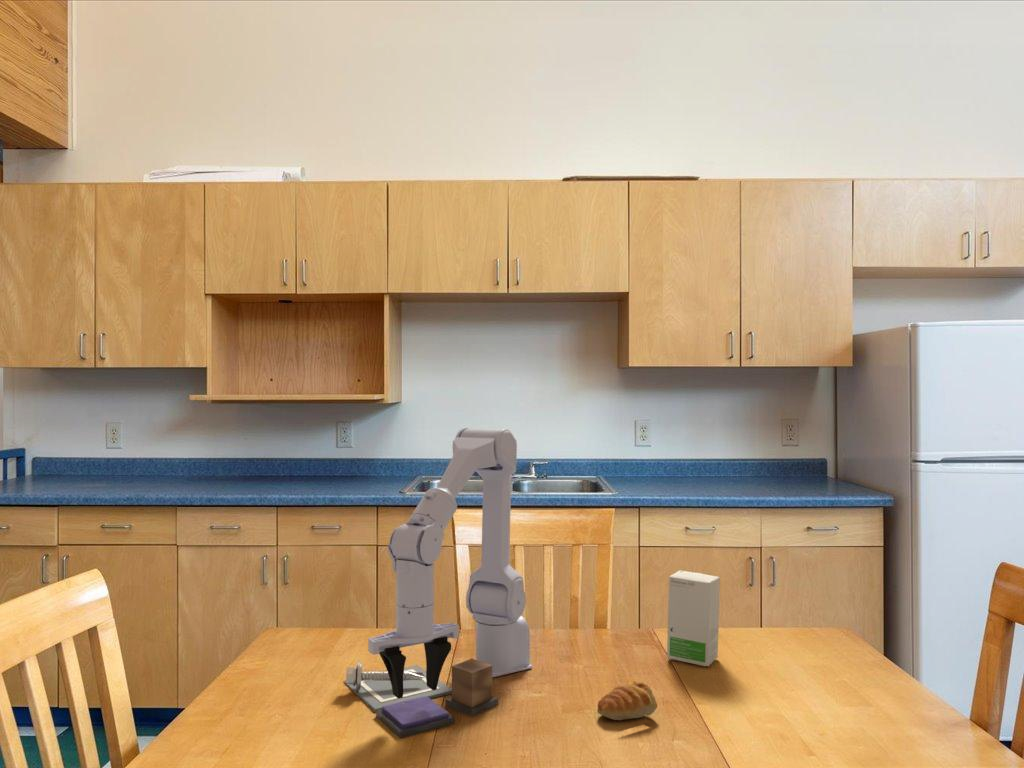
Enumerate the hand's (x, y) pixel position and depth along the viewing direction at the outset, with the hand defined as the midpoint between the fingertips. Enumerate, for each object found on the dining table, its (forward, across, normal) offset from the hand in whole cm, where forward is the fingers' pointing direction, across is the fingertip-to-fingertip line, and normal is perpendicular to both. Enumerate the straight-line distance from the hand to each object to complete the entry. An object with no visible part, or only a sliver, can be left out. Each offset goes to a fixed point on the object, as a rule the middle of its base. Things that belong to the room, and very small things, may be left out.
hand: (415, 691), depth 118 cm
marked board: (+4, -3, -13) cm, 14 cm away
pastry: (+5, -27, +14) cm, 30 cm away
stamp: (+4, -10, 0) cm, 11 cm away
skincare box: (+4, -56, +4) cm, 56 cm away
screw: (+4, -1, -13) cm, 14 cm away
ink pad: (+4, 0, 0) cm, 4 cm away
